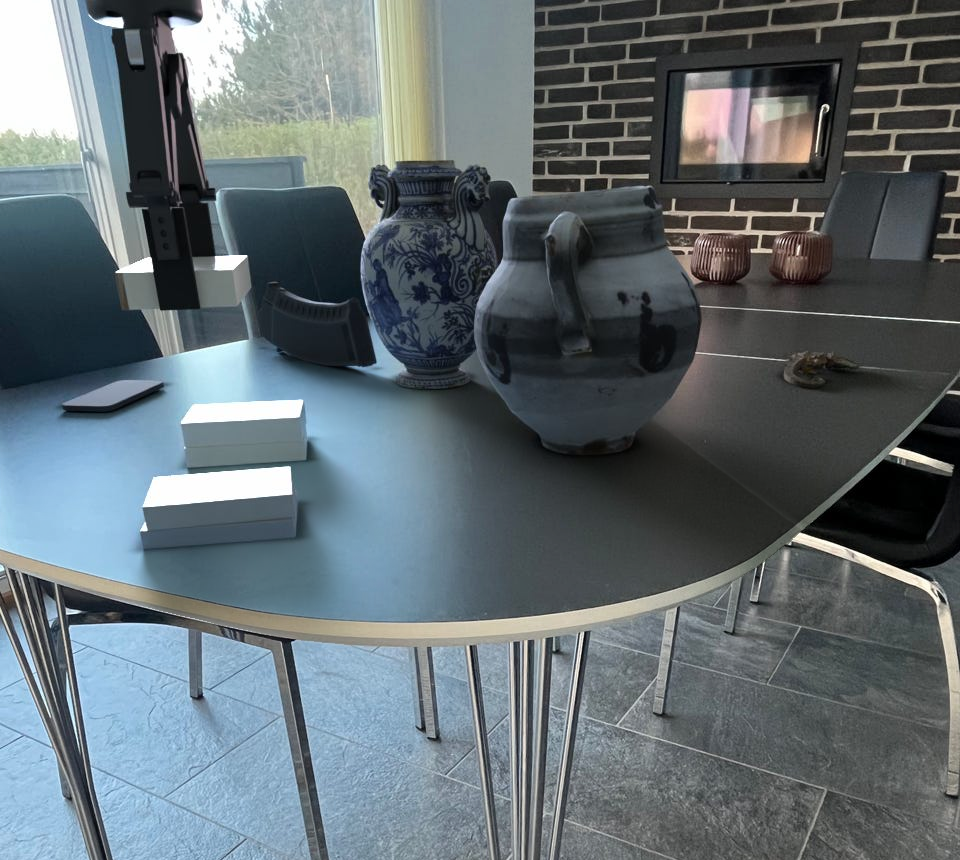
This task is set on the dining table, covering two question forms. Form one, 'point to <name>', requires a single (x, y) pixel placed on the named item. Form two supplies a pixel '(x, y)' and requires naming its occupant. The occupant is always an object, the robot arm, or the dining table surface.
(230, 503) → the white box
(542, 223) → the ceramic pot
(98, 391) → the phone
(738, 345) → the dining table surface
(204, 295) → the white book
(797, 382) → the seahorse
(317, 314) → the magazine
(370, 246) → the decorative vase
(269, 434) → the white books
